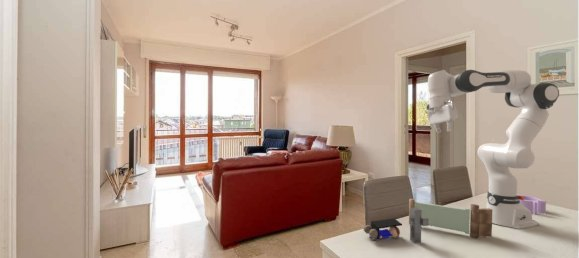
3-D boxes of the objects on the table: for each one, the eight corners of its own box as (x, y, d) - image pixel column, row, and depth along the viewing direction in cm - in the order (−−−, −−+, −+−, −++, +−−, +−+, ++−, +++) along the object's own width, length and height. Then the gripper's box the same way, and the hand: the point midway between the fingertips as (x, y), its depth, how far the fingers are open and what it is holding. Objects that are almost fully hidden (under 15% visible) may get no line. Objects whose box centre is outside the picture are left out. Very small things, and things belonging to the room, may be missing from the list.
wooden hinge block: (487, 234, 118) (487, 203, 117) (493, 237, 115) (494, 205, 114) (468, 235, 116) (469, 204, 116) (473, 238, 113) (474, 206, 113)
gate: (468, 233, 117) (469, 207, 116) (469, 235, 115) (469, 208, 114) (409, 222, 130) (409, 198, 129) (408, 224, 127) (408, 199, 127)
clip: (494, 203, 159) (494, 192, 159) (509, 202, 162) (510, 191, 162) (532, 215, 140) (533, 202, 139) (549, 213, 143) (549, 201, 143)
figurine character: (372, 247, 109) (404, 239, 112) (370, 229, 109) (402, 222, 112) (364, 239, 116) (394, 232, 119) (362, 222, 115) (393, 216, 118)
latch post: (421, 239, 113) (422, 207, 112) (428, 243, 109) (428, 210, 108) (410, 240, 112) (410, 207, 111) (415, 244, 108) (416, 211, 107)
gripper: (459, 99, 117) (463, 129, 115) (436, 106, 137) (439, 132, 136) (445, 100, 117) (449, 131, 116) (424, 107, 137) (427, 133, 136)
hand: (444, 132), depth 126 cm, fingers open, 8 cm apart
